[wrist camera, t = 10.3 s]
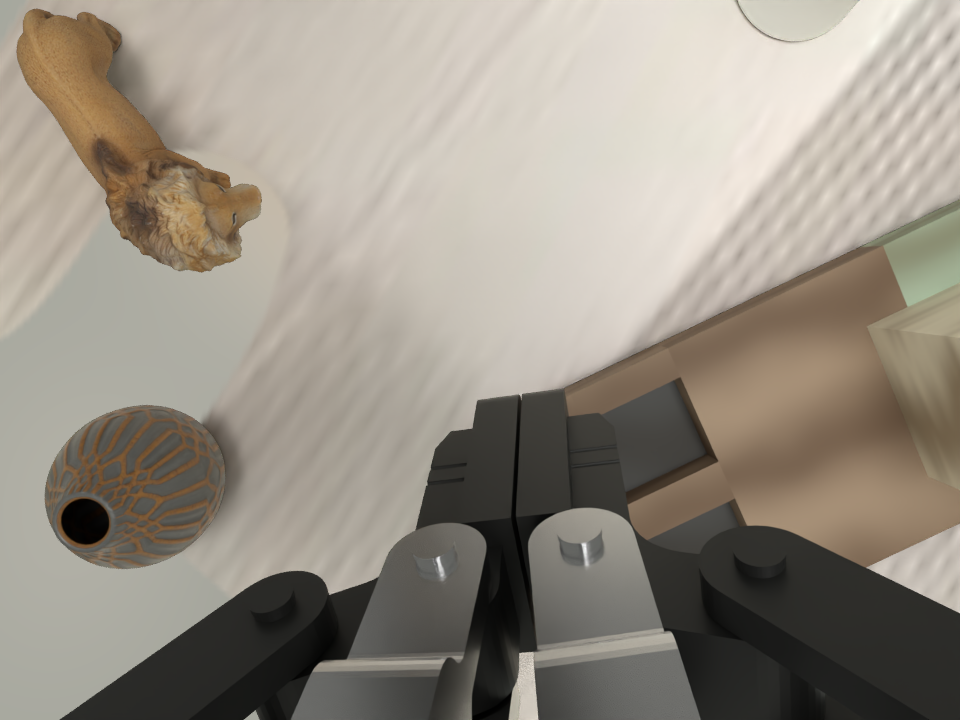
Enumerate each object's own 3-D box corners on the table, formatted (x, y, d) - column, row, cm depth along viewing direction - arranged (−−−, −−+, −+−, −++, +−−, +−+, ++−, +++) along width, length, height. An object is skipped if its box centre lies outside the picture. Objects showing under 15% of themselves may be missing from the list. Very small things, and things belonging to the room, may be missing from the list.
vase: (259, 420, 37) (199, 464, 28) (219, 550, 38) (148, 633, 29) (120, 376, 36) (16, 407, 28) (82, 508, 37) (-32, 580, 28)
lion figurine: (311, 222, 36) (265, 205, 27) (233, 301, 36) (161, 309, 27) (79, -13, 34) (-51, -114, 26) (-1, 71, 35) (-157, 0, 26)
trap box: (527, 405, 37) (531, 413, 35) (1084, 140, 37) (1120, 132, 35) (642, 647, 39) (653, 667, 37) (1177, 396, 38) (1216, 402, 36)
